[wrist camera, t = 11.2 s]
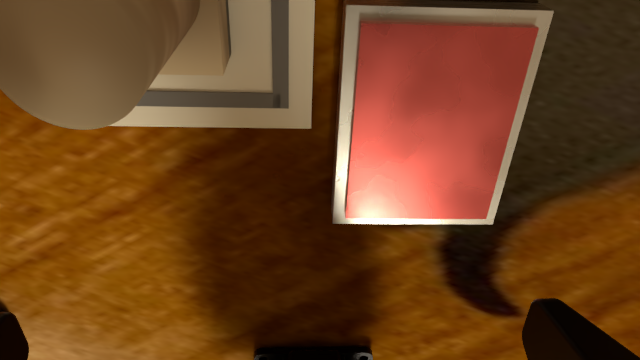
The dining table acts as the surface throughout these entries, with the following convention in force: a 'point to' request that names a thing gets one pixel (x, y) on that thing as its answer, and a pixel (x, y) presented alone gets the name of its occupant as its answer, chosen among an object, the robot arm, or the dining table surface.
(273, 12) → the card
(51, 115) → the stamp
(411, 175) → the ink pad
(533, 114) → the dining table surface
